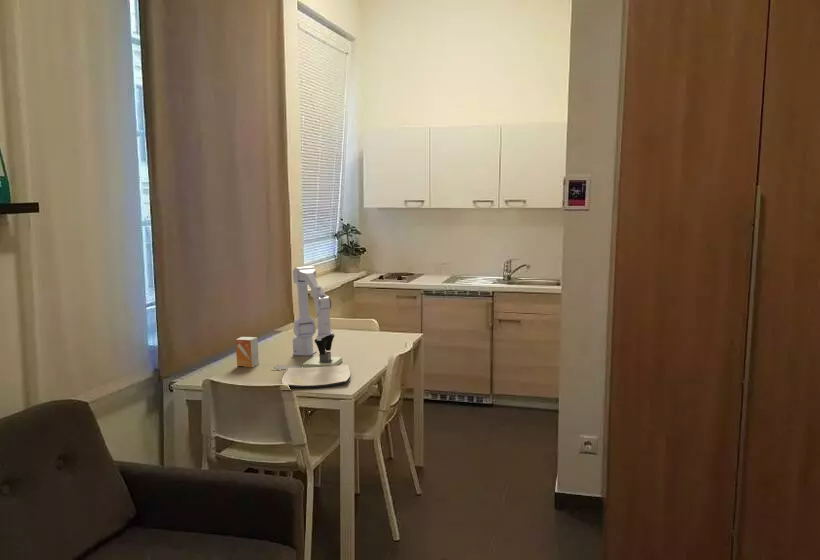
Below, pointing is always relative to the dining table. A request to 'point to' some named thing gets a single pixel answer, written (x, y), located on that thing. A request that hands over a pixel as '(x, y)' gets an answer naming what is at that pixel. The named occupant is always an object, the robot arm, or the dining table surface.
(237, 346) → the small box
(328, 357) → the charger
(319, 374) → the plate
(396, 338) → the dining table surface
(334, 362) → the outlet board
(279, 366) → the phone
